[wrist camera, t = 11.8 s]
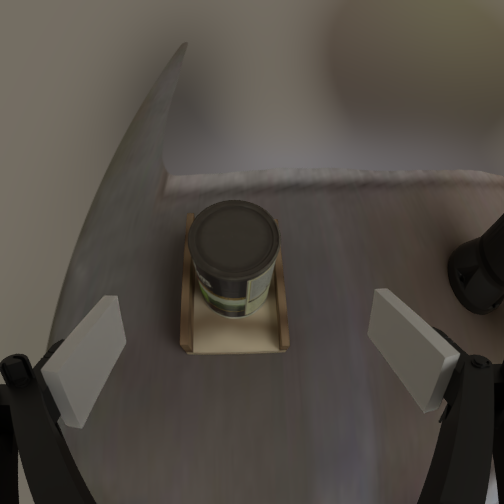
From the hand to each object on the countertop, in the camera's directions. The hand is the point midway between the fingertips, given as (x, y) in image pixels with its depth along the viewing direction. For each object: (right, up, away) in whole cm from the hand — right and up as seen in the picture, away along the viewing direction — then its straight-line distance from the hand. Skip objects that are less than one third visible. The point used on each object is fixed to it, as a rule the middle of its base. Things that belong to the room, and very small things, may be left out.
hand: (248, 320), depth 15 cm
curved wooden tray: (-3, -3, +33) cm, 33 cm away
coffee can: (-2, -2, +31) cm, 32 cm away
